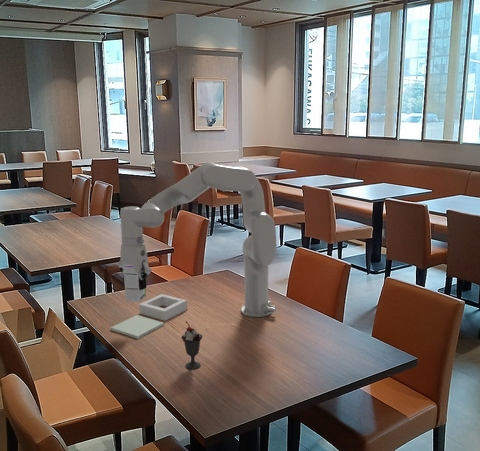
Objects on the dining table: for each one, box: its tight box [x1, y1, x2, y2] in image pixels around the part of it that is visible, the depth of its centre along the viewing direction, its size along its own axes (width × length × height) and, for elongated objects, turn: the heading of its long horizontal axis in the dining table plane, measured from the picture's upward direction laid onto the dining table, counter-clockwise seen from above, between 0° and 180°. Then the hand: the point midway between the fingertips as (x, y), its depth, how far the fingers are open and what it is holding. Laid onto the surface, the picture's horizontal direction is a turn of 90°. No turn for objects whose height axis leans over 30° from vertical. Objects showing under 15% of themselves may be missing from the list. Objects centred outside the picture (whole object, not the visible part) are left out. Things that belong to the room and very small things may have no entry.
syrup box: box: [123, 263, 147, 303], centre depth 192 cm, size 6×6×14 cm
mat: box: [110, 314, 165, 340], centre depth 196 cm, size 14×14×1 cm
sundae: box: [181, 321, 203, 370], centre depth 166 cm, size 7×7×15 cm
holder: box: [138, 293, 188, 322], centre depth 211 cm, size 14×14×4 cm
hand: (135, 286), depth 193 cm, fingers closed on syrup box, 7 cm apart
